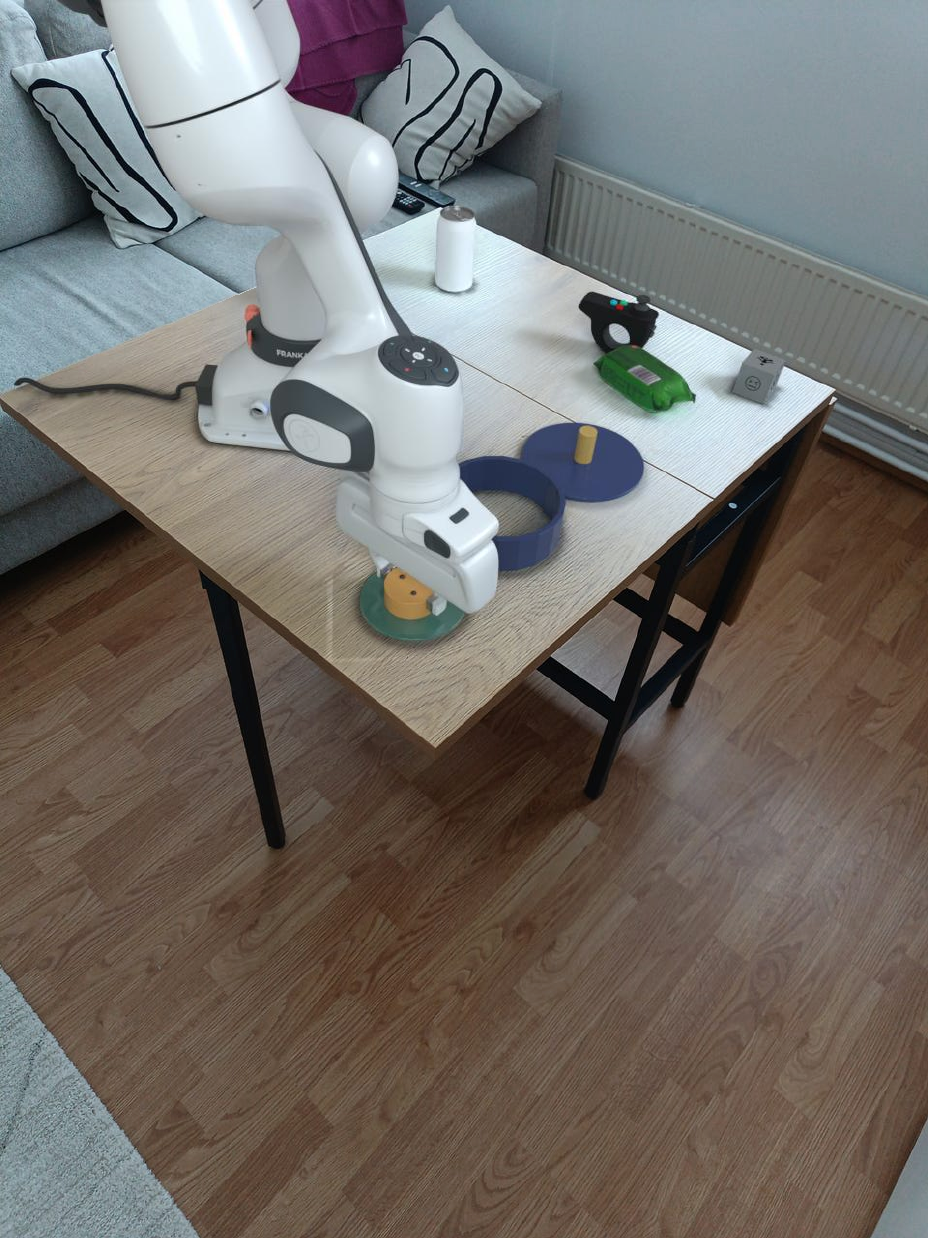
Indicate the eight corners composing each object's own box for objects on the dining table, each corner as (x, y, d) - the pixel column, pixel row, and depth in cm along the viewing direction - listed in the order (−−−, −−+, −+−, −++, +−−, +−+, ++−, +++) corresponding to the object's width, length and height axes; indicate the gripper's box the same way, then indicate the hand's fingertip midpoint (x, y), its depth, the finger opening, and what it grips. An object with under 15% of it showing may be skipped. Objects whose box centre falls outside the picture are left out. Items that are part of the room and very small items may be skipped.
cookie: (384, 620, 96) (384, 602, 94) (383, 581, 100) (383, 563, 97) (439, 619, 96) (440, 601, 94) (435, 580, 100) (436, 562, 98)
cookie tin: (439, 576, 102) (441, 541, 98) (430, 490, 112) (431, 456, 108) (568, 572, 103) (575, 538, 99) (548, 489, 114) (554, 454, 110)
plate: (360, 646, 94) (360, 641, 93) (359, 567, 102) (359, 562, 101) (471, 642, 95) (471, 637, 95) (461, 565, 103) (461, 560, 103)
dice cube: (775, 389, 133) (786, 360, 129) (763, 404, 130) (774, 374, 126) (744, 377, 135) (754, 348, 131) (732, 392, 132) (742, 362, 128)
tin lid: (530, 507, 111) (535, 471, 107) (513, 429, 122) (517, 394, 118) (655, 505, 113) (665, 469, 109) (627, 428, 124) (635, 394, 119)
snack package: (658, 429, 124) (667, 398, 120) (587, 375, 132) (593, 344, 128) (693, 415, 127) (703, 384, 123) (621, 363, 135) (628, 332, 131)
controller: (641, 369, 134) (655, 309, 127) (569, 345, 138) (578, 284, 130) (651, 357, 137) (666, 297, 129) (580, 333, 140) (590, 273, 133)
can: (456, 271, 152) (460, 200, 143) (480, 286, 149) (485, 215, 140) (426, 281, 149) (429, 210, 140) (450, 297, 146) (454, 225, 137)
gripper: (317, 465, 89) (325, 562, 99) (471, 561, 81) (462, 656, 91) (361, 439, 93) (363, 535, 103) (513, 529, 85) (499, 623, 95)
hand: (411, 593), depth 97 cm, fingers closed on cookie, 6 cm apart
